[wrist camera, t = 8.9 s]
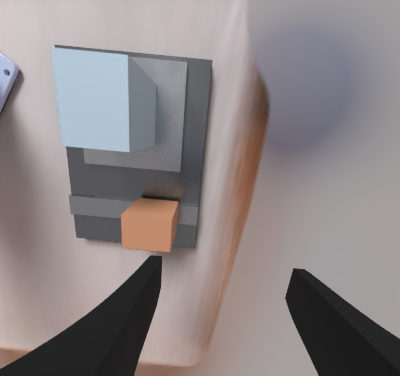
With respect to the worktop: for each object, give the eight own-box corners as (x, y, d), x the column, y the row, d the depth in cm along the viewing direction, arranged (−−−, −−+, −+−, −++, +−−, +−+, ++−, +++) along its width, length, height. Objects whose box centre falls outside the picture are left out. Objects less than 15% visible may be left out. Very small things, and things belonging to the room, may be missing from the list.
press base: (195, 242, 22) (194, 251, 20) (83, 231, 21) (72, 240, 20) (211, 65, 16) (212, 57, 15) (65, 51, 16) (48, 41, 15)
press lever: (177, 228, 19) (170, 252, 15) (138, 224, 19) (122, 247, 15) (178, 201, 18) (172, 219, 15) (138, 197, 18) (121, 214, 14)
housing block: (155, 145, 17) (129, 152, 11) (110, 141, 17) (62, 146, 11) (156, 84, 15) (127, 54, 10) (108, 79, 15) (50, 47, 10)
